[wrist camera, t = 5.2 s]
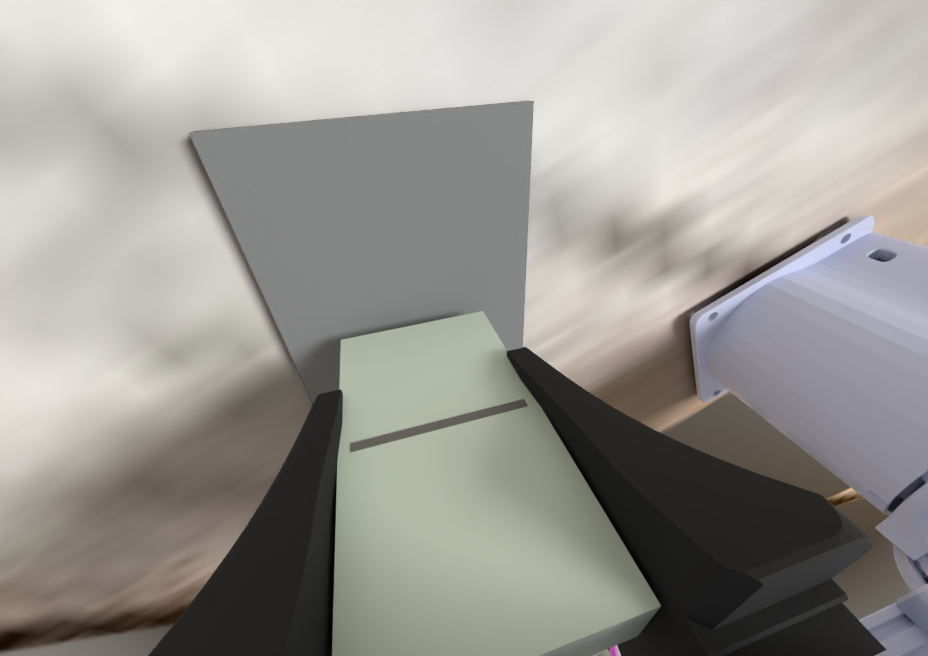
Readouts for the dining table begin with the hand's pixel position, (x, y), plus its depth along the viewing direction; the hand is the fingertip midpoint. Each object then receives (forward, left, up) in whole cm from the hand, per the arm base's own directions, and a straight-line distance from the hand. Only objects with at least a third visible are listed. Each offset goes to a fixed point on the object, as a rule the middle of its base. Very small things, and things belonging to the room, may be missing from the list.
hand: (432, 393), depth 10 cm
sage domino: (0, 0, -3) cm, 3 cm away
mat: (+5, +10, -4) cm, 12 cm away
